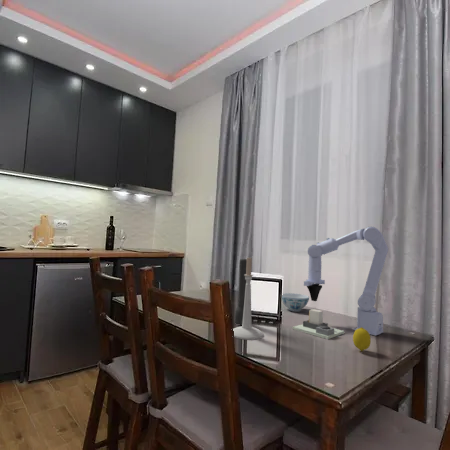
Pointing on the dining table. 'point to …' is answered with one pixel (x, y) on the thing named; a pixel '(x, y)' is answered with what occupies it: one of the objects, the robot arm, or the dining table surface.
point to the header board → (312, 331)
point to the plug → (316, 317)
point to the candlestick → (247, 311)
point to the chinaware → (295, 301)
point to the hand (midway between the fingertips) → (314, 300)
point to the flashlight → (241, 292)
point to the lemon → (361, 339)
